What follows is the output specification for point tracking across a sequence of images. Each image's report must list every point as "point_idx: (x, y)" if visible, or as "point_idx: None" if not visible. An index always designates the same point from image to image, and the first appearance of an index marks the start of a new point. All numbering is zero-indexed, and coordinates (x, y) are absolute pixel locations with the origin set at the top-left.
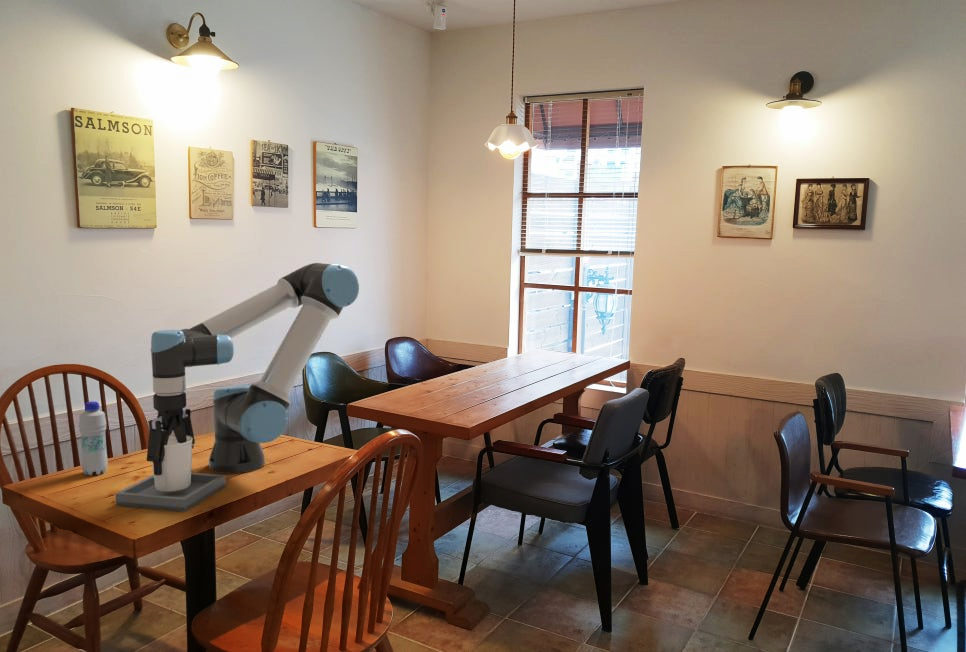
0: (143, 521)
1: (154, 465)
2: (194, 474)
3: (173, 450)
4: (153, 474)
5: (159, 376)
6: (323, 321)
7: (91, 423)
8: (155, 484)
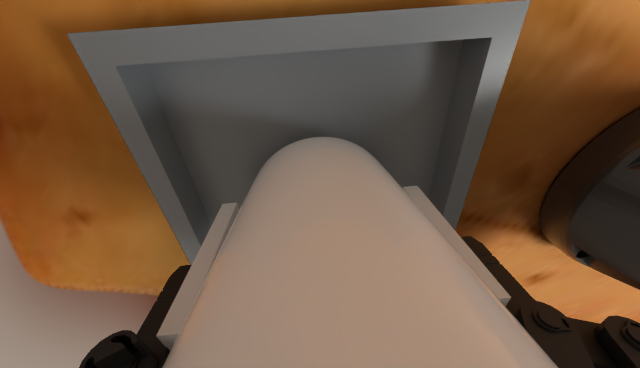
0: (109, 236)
1: (143, 333)
2: (445, 204)
3: None
4: (256, 186)
5: None
6: None
7: None
8: (219, 214)
